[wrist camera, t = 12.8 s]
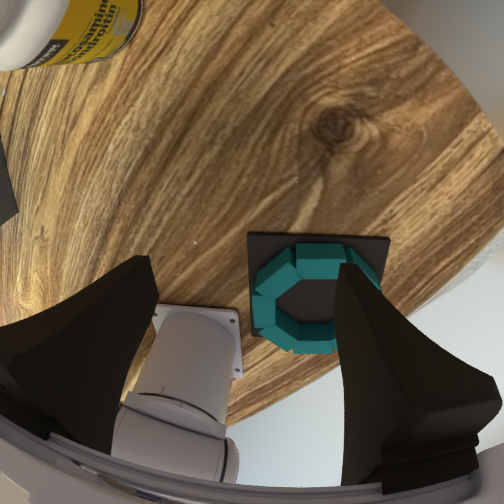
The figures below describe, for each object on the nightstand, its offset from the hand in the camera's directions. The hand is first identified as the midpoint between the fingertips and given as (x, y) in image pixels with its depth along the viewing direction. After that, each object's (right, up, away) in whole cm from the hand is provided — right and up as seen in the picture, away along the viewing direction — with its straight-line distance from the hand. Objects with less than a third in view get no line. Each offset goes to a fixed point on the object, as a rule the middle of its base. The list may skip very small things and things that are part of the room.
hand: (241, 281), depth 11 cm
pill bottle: (-9, +16, +2) cm, 19 cm away
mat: (+5, -2, +12) cm, 13 cm away
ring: (+5, -2, +11) cm, 13 cm away
